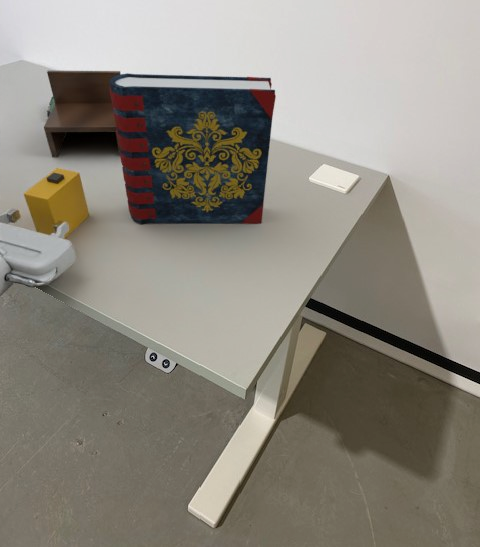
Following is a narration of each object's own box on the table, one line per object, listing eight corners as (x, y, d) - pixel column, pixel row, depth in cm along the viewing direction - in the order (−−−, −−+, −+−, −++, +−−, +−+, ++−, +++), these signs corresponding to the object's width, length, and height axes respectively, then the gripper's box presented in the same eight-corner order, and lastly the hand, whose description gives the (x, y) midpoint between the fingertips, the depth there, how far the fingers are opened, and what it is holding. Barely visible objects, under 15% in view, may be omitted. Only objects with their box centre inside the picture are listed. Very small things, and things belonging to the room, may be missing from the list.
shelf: (51, 157, 94) (34, 93, 85) (62, 129, 104) (47, 70, 95) (124, 155, 96) (115, 93, 87) (128, 129, 106) (120, 70, 97)
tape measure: (61, 243, 73) (46, 195, 66) (38, 237, 74) (21, 189, 67) (89, 214, 79) (78, 169, 73) (68, 209, 80) (55, 164, 73)
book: (127, 225, 78) (104, 87, 60) (131, 204, 83) (111, 71, 65) (262, 225, 80) (276, 92, 63) (258, 204, 85) (271, 76, 68)
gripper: (35, 273, 56) (92, 216, 66) (-89, 238, 60) (-18, 189, 69) (47, 305, 60) (99, 247, 70) (-69, 270, 64) (-5, 220, 74)
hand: (40, 218), depth 70 cm, fingers open, 8 cm apart
